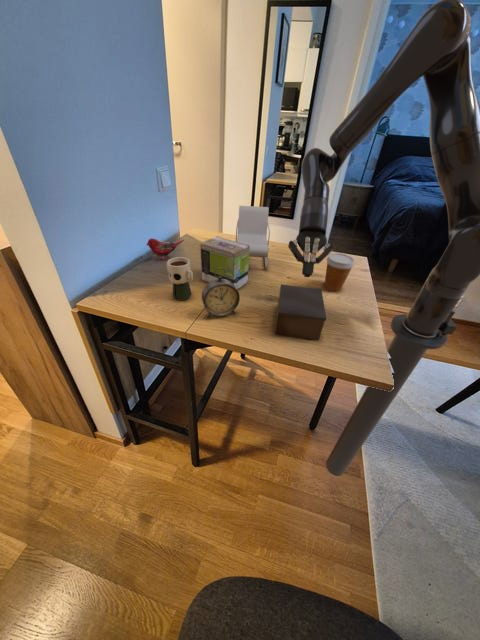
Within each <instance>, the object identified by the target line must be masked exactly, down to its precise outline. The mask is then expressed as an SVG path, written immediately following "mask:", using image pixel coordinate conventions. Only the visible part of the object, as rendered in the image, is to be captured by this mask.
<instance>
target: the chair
mask: <svg viewBox="0 0 480 640" xmlns="http://www.w3.org/2000/svg"><path fill="white" fill-rule="evenodd" d="M269 208H270V207H268V206H254V205H253V206H252V205H239V206H238V219H237V223H236V229H235V242H239V243H243V244H246V245H249V246H250V251H249V258H250V257H251V258H264V268H265V270H267V269H268V260H269V259H268V257H269V247H270V238H271V236H270V235H271V229H270V224H269Z"/></svg>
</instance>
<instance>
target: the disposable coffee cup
mask: <svg viewBox="0 0 480 640" xmlns="http://www.w3.org/2000/svg"><path fill="white" fill-rule="evenodd" d="M326 263H327V264H326V271H325V279H324V284H323V287H324V288H325V290H327V291H329V292H334V293H338V292H340V291H342V289H343V287H344V284H345V283H346V280H347V279H348V276H349V275H350V272H351V270H352V268H354V266H355V259H354V257H352V256H351V255H348V254H345V253H339V252H335V253H334V252H333V253H330V254H328V256H327V257H326Z"/></svg>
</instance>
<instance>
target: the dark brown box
mask: <svg viewBox="0 0 480 640" xmlns="http://www.w3.org/2000/svg"><path fill="white" fill-rule="evenodd" d="M279 300H280V292H279V293H278V300H277V304H276V305H277V306H276V317H275V330H274V335H277V336H285V337H291V338H299V339H305V340H313V341H319V340H320V337H321V335H322V331H323V328H324V325H325V322H326V321H322V320H315V319H307V318H299V317H292V316H284V315H278V314H279Z"/></svg>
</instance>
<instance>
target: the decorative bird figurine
mask: <svg viewBox="0 0 480 640" xmlns="http://www.w3.org/2000/svg"><path fill="white" fill-rule="evenodd" d="M184 241H185V239H182V240H180V241H177V242H171V241H159V240H158V239H156V238H153V237H152V238H149V239H148V240H147V243H146V246H148V247H149V249H150V250H151V251H152V253H153V254H155V255H156V256H158V257H161V258H159V259H158V261H160V260H161V261H163V260H165V259H169V254H171V253H172V252H174V250H175V249H176V248H177V247H178V245H180V244H182V243H183V242H184Z"/></svg>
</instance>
